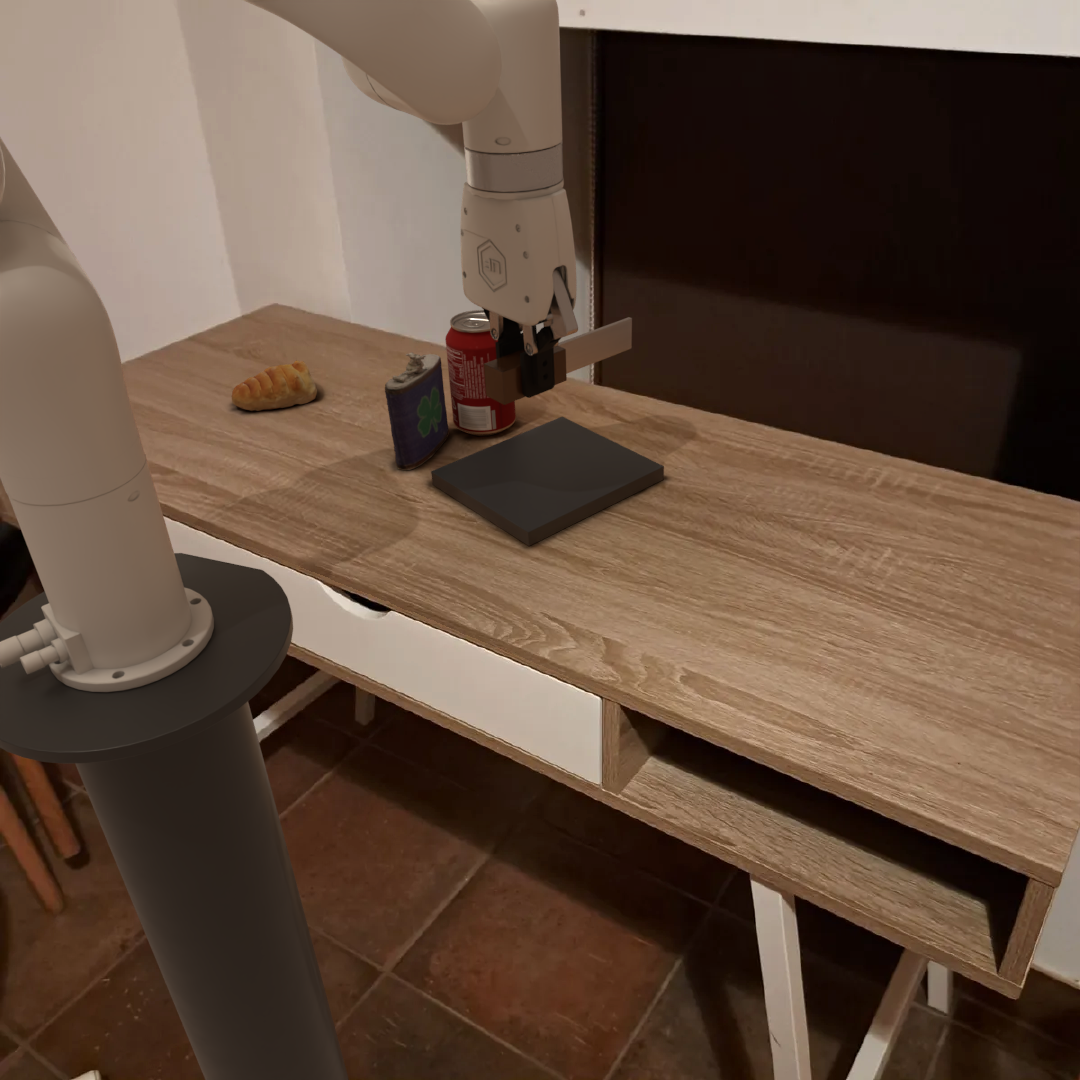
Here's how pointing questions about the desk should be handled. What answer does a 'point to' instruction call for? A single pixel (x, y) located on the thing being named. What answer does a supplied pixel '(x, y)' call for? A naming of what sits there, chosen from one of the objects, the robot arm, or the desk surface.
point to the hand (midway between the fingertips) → (526, 384)
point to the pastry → (276, 388)
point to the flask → (417, 411)
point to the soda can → (474, 376)
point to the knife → (558, 359)
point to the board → (546, 479)
